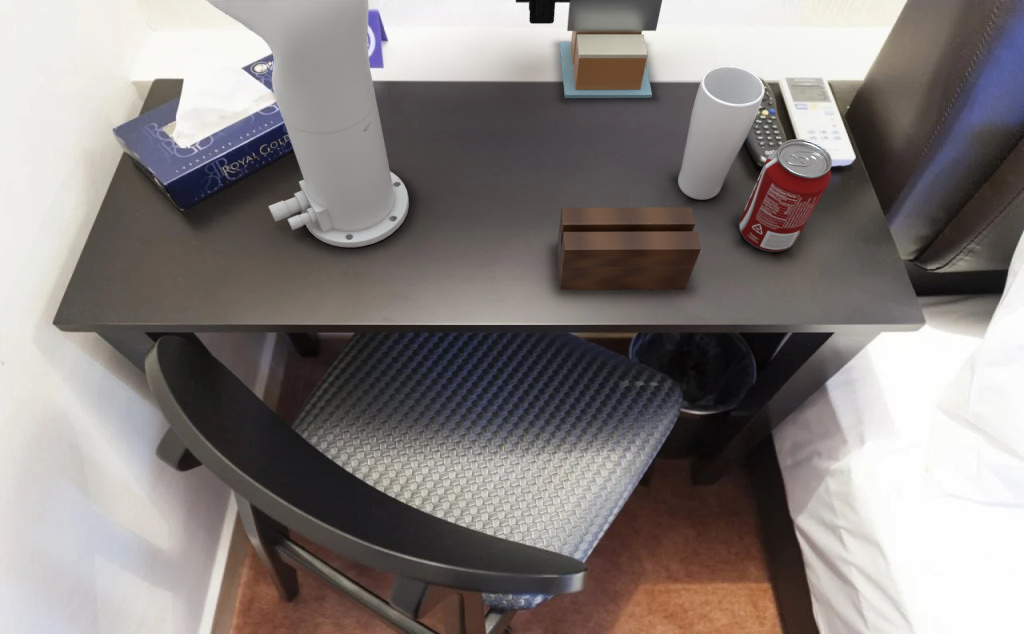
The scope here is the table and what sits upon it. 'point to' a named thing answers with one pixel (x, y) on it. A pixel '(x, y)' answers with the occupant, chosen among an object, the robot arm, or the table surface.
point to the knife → (611, 14)
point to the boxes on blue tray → (605, 65)
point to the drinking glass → (718, 128)
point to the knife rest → (626, 248)
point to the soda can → (785, 195)
